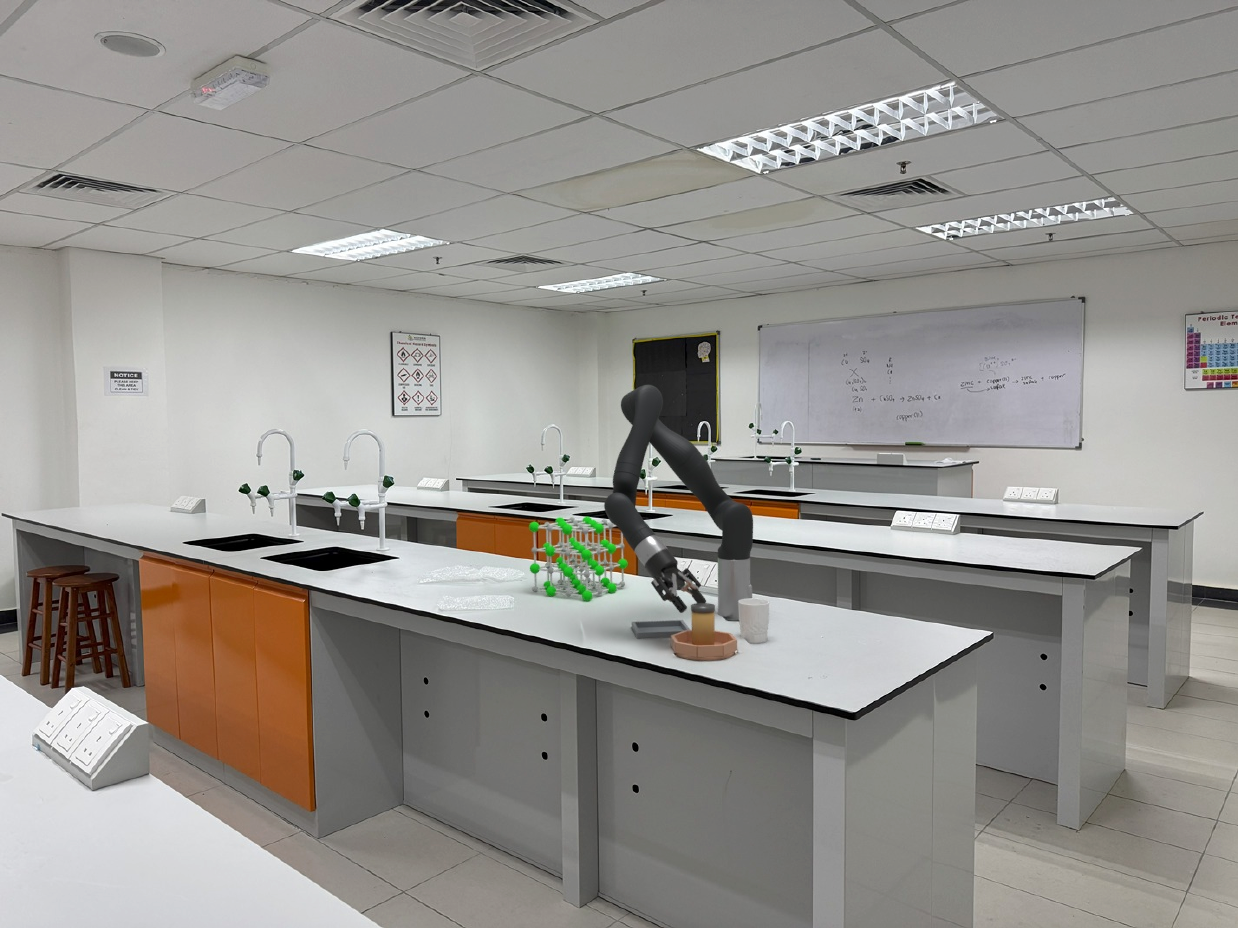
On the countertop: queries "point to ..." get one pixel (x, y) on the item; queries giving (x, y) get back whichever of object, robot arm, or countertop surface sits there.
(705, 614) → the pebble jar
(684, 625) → the parts tray
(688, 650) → the terracotta bowl
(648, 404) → the robot arm
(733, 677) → the countertop surface
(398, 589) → the countertop surface
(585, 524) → the molecular structure model
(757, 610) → the white cup
